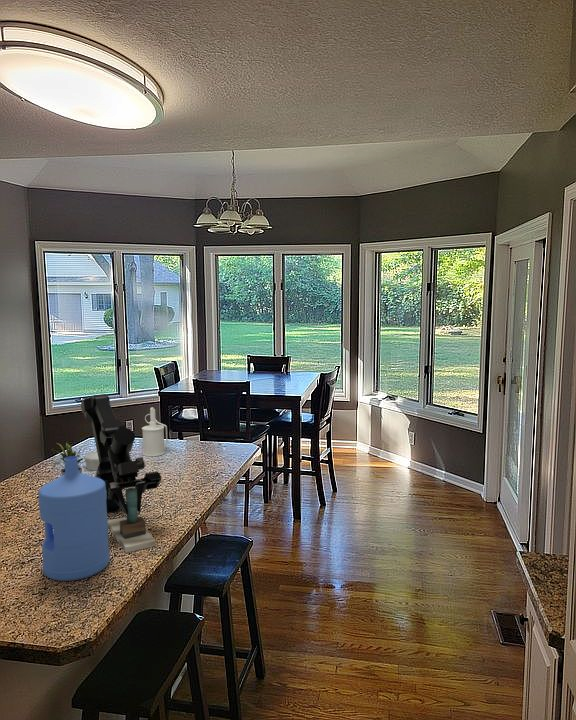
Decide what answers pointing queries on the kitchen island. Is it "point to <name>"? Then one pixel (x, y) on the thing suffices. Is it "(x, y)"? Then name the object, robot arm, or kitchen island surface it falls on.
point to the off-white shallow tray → (130, 542)
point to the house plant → (69, 453)
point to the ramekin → (92, 461)
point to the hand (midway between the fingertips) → (133, 512)
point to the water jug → (74, 525)
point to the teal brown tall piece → (132, 517)
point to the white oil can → (153, 436)
